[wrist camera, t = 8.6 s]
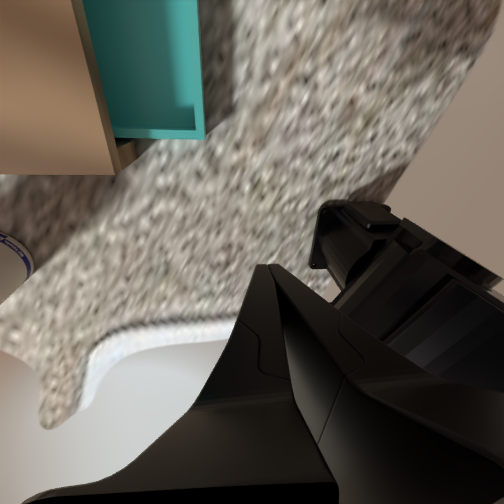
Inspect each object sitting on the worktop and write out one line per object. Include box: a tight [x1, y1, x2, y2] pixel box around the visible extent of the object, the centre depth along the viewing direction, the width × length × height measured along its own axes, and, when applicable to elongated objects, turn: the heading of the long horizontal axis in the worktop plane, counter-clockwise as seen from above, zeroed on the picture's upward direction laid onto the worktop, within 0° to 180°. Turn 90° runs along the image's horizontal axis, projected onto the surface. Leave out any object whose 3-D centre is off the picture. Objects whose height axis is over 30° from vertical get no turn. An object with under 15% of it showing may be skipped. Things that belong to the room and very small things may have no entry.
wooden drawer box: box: [0, 0, 137, 175], centre depth 12 cm, size 12×9×5 cm
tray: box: [82, 0, 206, 140], centre depth 13 cm, size 9×12×2 cm
